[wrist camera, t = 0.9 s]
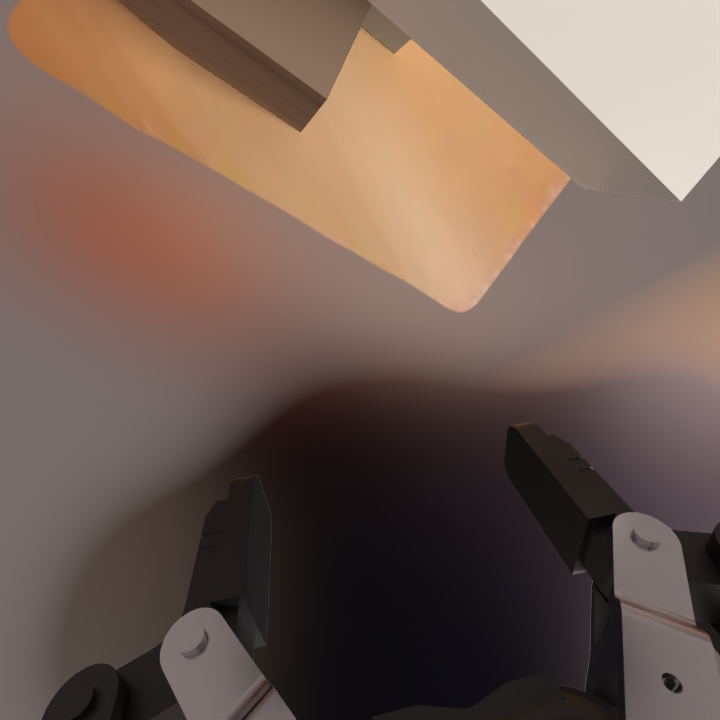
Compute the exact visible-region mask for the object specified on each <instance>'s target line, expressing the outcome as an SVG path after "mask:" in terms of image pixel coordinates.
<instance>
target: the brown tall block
mask: <svg viewBox="0 0 720 720" xmlns="http://www.w3.org/2000/svg"><path fill="white" fill-rule="evenodd" d="M119 1H120V2H121V3H123V4H124V5H125V6H126V7H127V8H128V9H130V10H131V11H132V12H133V13H134V14H135V15H137V16H138V17H139V18H140V19H141V20H142V21H144V22H145V23H146V24H147V25H148V26H149V27H151V28H152V29H153V30H154V31H155V32H156V33H158V34H159V35H160V36H161V37H162V38H163V39H165V40H166V41H167V42H168V43H169V44H170V45H172V46H173V47H174V48H175V49H177V50H178V51H180V52H181V53H183V54H184V55H186V56H187V57H189V58H190V59H192V60H193V61H195V62H196V63H198V64H199V65H201V66H202V67H204V68H205V69H207V70H208V71H210V72H211V73H213V74H214V75H216V76H217V77H219V78H220V79H222V80H223V81H225V82H226V83H228V84H229V85H231V86H232V87H234V88H235V89H237V90H238V91H240V92H241V93H243V94H244V95H246V96H247V97H249V98H250V99H252V100H253V101H255V102H256V103H258V104H259V105H261V106H262V107H264V108H265V109H267V110H268V111H270V112H271V113H273V114H274V115H276V116H277V117H279V118H280V119H282V120H283V121H285V122H286V123H288V124H289V125H291V126H292V127H294V128H295V129H297V130H298V131H300V132H301V131H302V130H303V129H304V127H305V126H306V125H307V124H308V122H309V121H310V120H311V119H312V117H313V116H314V115H315V114H316V112H317V111H318V110H319V108H320V107H321V106H322V105H323V103H324V102H325V101H326V100H327V98H328V96H329V94H330V92H331V89H332V87H333V85H334V83H335V81H336V79H337V77H338V74H339V72H340V70H341V68H342V66H343V64H344V62H345V59H346V57H347V55H348V53H349V51H350V49H351V47H352V44H353V42H354V40H355V38H356V36H357V34H358V32H359V29H360V27H361V25H362V23H363V21H364V19H365V17H366V14H367V12H368V10H369V8H370V6H371V3H370V2H369V1H367V0H119Z"/></svg>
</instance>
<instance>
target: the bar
mask: <svg viewBox="0 0 720 720" xmlns="http://www.w3.org/2000/svg"><path fill="white" fill-rule="evenodd" d="M367 1H369V2H370V3H371V4H372V5H373V6H374V7H375V8H377V9H378V10H379V11H380V12H381V13H382V14H384V15H385V16H386V17H387V18H388V19H389V20H390V21H392V22H393V23H394V24H395V25H396V26H397V27H398V28H400V29H401V30H402V31H403V32H404V33H405V34H406V35H408V36H409V37H410V38H411V39H412V40H413V41H414V42H416V43H417V44H418V45H419V46H420V47H421V48H422V49H424V50H425V51H426V52H427V53H428V54H429V55H430V56H432V57H433V58H434V59H435V60H436V61H437V62H439V63H440V64H441V65H442V66H443V67H444V68H445V69H447V70H448V71H449V72H450V73H451V74H452V75H453V76H455V77H456V78H457V79H458V80H459V81H460V82H461V83H463V84H464V85H465V86H466V87H467V88H468V89H469V90H471V91H472V92H473V93H474V94H475V95H476V96H477V97H479V98H480V99H481V100H482V101H483V102H484V103H485V104H487V105H488V106H489V107H490V108H491V109H492V110H494V111H495V112H496V113H497V114H498V115H499V116H500V117H502V118H503V119H504V120H505V121H506V122H507V123H508V124H510V125H511V126H512V127H513V128H514V129H515V130H516V131H518V132H519V133H520V134H521V135H522V136H523V137H524V138H526V139H527V140H528V141H529V142H530V143H531V144H532V145H534V146H535V147H536V148H537V149H538V150H539V151H540V152H542V153H543V154H544V155H545V156H546V157H547V158H549V159H550V160H551V161H552V162H553V163H554V164H555V165H557V166H558V167H559V168H560V169H561V170H562V171H563V172H565V173H566V174H567V175H568V176H569V177H570V178H571V179H573V180H574V181H575V182H576V183H577V184H578V185H580V186H581V187H582V188H588V189H595V190H603V191H610V192H617V193H624V194H631V195H638V196H645V197H652V198H659V199H667V200H674V201H682V200H683V199H684V197H685V196H686V195H687V194H688V193H689V192H690V190H691V189H692V188H693V187H694V186H695V185H696V183H697V182H698V181H699V180H700V179H701V178H702V176H703V175H704V174H705V173H706V172H707V171H708V169H709V168H710V167H711V166H712V165H713V164H714V162H715V161H716V160H717V159H718V158H719V157H720V0H367Z"/></svg>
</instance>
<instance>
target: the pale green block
mask: <svg viewBox="0 0 720 720" xmlns="http://www.w3.org/2000/svg"><path fill="white" fill-rule="evenodd" d="M361 27H363V28H364V29H365V30H366V31H367V32H369V33H370V34H371V35H372V36H373V37H375V38H376V39H377V40H378V41H379V42H381V43H382V44H383V45H384V46H385V47H386V48H388V49H389V50H390V51H391V52H392V53H396V52H397V51H398V50H399V49H400V48H401V47H402V46H403V45H405V44H406V43H407V42H408V41H409V40H410V39H411V38H410V37H409V36H408V35H406V34H405V33H404V32H403V31H402V30H401V29H400V28H398V27H397V26H396V25H395V24H394V23H393V22H392V21H390V20H389V19H388V18H387V17H386V16H385V15H384V14H382V13H381V12H380V11H379V10H378V9H377V8H375V7H374V6H373V5H372V4H371V6H370V8H369V10H368V12H367V14H366V17H365V19H364V21H363V23H362V25H361Z"/></svg>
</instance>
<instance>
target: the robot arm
mask: <svg viewBox="0 0 720 720" xmlns="http://www.w3.org/2000/svg"><path fill="white" fill-rule="evenodd" d="M504 466H505V470H506V473H507V476H508V478H509V479H510V481H511V483H512V484H513V486H514V487H515V489H516V490H517V492H518V493H519V495H520V496H521V498H522V499H523V501H524V502H525V504H526V505H527V507H528V508H529V510H530V511H531V513H532V514H533V516H534V517H535V519H536V521H537V522H538V523H539V525H540V527H541V528H542V529H543V531H544V533H545V534H546V536H547V537H548V538H549V540H550V542H551V543H552V545H553V546H554V548H555V549H556V551H557V552H558V554H559V555H560V557H561V558H562V560H563V561H564V563H565V564H566V566H567V568H568V569H569V570H570V572H571V573H572V575H574V574H578V573H582V572H588V574H589V575H590V577H591V578H592V580H593V583H592V590H591V634H590V659H589V666H588V671H587V678H586V686H585V692H584V691H581V690H579V689H576V688H572V687H568V686H563V685H558V684H557V682H556V680H555V678H554V676H553V674H552V672H551V671H549V672H545V673H541V674H537V675H533V676H529V677H526V678H522V679H517V680H514V681H510V682H508V683H506V684H505V685H503V686H502V687H500V688H499V689H497V690H496V691H495V692H493V693H492V694H490V695H489V696H488V697H486V698H485V699H483V700H482V701H480V702H479V703H477V704H476V705H474V706H473V707H471V708H469V709H458V708H446V707H433V706H423V705H416V706H412V707H409V708H405V709H401V710H397V711H393V712H389V713H385V714H381V715H377V716H374V717H373V720H720V678H719V673H718V668H717V664H716V659H715V654H714V649H713V647H714V648H715V650H716V651H717V652H718V653H719V655H720V523H718V524H717V525H716V527H715V528H714V530H713V532H712V534H710V533H699V532H688V531H676V530H671V529H670V528H669V527H667V526H666V525H665V524H664V523H662V522H661V521H659V520H657V519H655V518H653V517H651V516H648V515H645V514H641V513H635V512H634V511H633V510H632V509H631V508H630V507H629V506H628V505H627V504H626V503H625V502H624V501H623V500H622V499H621V497H620V496H619V495H618V494H617V493H616V492H615V491H614V490H613V489H612V488H611V487H610V486H609V485H608V484H607V483H606V482H605V481H604V479H603V478H601V476H600V475H599V474H598V473H597V472H596V471H595V470H593V469H592V467H591V466H590V465H589V464H588V463H587V461H586V460H585V459H582V457H581V455H580V454H579V453H578V452H577V451H576V450H575V449H574V448H573V447H572V446H571V444H569V443H567V442H566V441H564V440H562V439H561V438H559V437H557V436H556V435H554V434H553V435H548V436H547V435H546V434H545V432H544V431H543V430H542V429H541V428H540V427H539V426H538V425H537V424H536V423H535V422H528V423H523V424H518V425H512V426H509V427H508V430H507V439H506V447H505V456H504ZM271 533H272V521H271V513H270V509H269V506H268V503H267V500H266V497H265V494H264V491H263V488H262V485H261V482H260V480H259V477H258V476H257V475H256V476H251V477H246V478H241V479H236V480H232V481H231V484H230V489H229V495H228V499H227V500H222V501H217V502H215V504H214V505H213V507H212V508H211V510H210V511H209V513H208V515H207V516H206V518H205V522H204V526H203V531H202V538H201V539H200V543H199V548H198V553H197V557H196V561H195V565H194V570H193V574H192V579H191V583H190V587H189V592H188V596H187V601H186V605H185V609H184V612H183V614H182V617H181V618H180V619H179V620H178V621H177V622H176V623H175V624H174V625H173V626H172V628H171V629H170V630H169V632H168V633H167V635H166V637H165V639H164V641H163V642H162V643H160V644H159V645H158V646H157V647H155V648H154V649H152V650H150V651H149V652H147V653H145V654H143V655H142V656H140V657H138V658H136V659H135V660H133V661H131V662H129V663H128V664H126V665H124V666H123V667H121V668H119V669H117V670H115V669H114V668H113V667H112V666H110V665H108V664H95V665H92V666H89V667H87V668H85V669H83V670H81V671H80V672H78V673H77V674H75V675H74V676H73V677H72V678H70V679H69V680H68V681H67V682H66V683H65V684H64V685H63V686H62V687H61V689H59V691H58V692H57V693H56V695H55V696H54V697H53V699H52V700H51V702H50V704H49V705H48V707H47V709H46V711H45V713H44V715H43V718H42V720H296V718H295V717H294V716H293V714H292V713H291V711H290V710H289V708H288V707H287V706H286V704H285V703H284V701H283V700H282V698H281V697H280V696H279V694H278V693H277V692H276V690H275V689H274V687H273V686H272V685H271V684H270V683H269V682H267V680H266V679H265V677H264V676H263V674H262V673H261V672H260V670H259V669H258V667H257V666H256V664H255V663H254V662H253V654H254V648H257V647H262V646H266V639H267V618H268V597H269V576H270V555H271V535H272V534H271Z"/></svg>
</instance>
